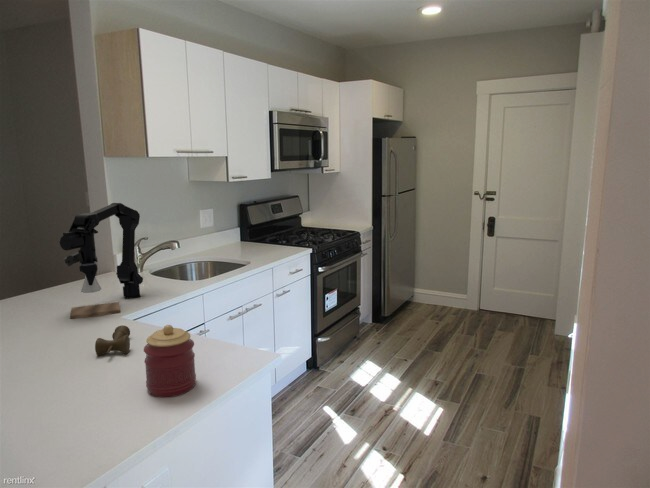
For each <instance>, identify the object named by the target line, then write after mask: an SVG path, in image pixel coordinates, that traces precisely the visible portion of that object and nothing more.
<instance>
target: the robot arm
mask: <svg viewBox="0 0 650 488" xmlns="http://www.w3.org/2000/svg"><path fill="white" fill-rule="evenodd" d="M112 216H115V217H116V218H118V222H119V223H118V224H119V225H120V227H121V228H122V244H121V245H122V249H121V251H122V252H121V253H122V255H121V262H120V264H119V265H116V273H115V275H116V277H117V279H118V280H119V283H120V285H121V284H122V285H123V286H122V295H123V297H124V299H132V298H140V297H141V292H140V285H141V284H143V281H144V278H143V276H142V275H140V274H139V270H138V269H139V268H138V266H137V264H136V263H135V238H136V229H137V228H138V226H139V224H140V220H141V219H140V217H141V216H140V213H139V212H138V210H136V209H133V208H132V207H129V206H126V205H125V204H123V203H121V202H112V203H110V204H109V205H107V206H104V207H102V208H99V209H96V210H95V211H92V212H86V213H85V212H84V213H80V214H79V213H78V214H77V215H75V216H74V219H73V221H72V223H71V225H70V227H69V230H68V232H63V233H62V234H63V235H62V236H61V237H60V239H59V245H60V247H61V249H62V250H64V251H70V250H71V251H72V250H75V249H78V251H77V252H75V253H72V254H69V255H67V256H66V257H64V258H63V261H64V262H65V264H66V266H67V267H70V266H73V265H74V264H76V263H79V267H78V268H79V272H80V273H81V272H82V273H83V274H84V276H85V275H86V278H87V281H88V283H89V285H92V284H93V281H94V278H96V274H97V272H98V256H97V254H96V253H97V252H96V241H95V234H99V231H98V230H96V229H95V228H96V227H98V225H99V224H100V222H101V221H102V222H103V221H104V220H106V219H108V218H110V217H112Z"/></svg>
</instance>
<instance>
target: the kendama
mask: <svg viewBox="0 0 650 488" xmlns="http://www.w3.org/2000/svg"><path fill="white" fill-rule="evenodd" d="M111 335H112V337H111V338H112V340H108V339H104V338H101V337H98V338H97V339H96V340H95V342H94V343H95V344H94V350H95V354H96V355H97V356H99V357H100V356H102V355H104V354H109V353H110V352H113V351H114V352H115V351H118V352H120V353H123V354H125V355H127V354H128V353H129V352H130V348H131V347H130V346H131V343H130V341H131V340H130V335H131V329H130V328H129V326H127V325H118V326H117V327H116V328H115V329H114V331H113V333H112V334H111Z"/></svg>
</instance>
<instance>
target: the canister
mask: <svg viewBox="0 0 650 488" xmlns="http://www.w3.org/2000/svg"><path fill="white" fill-rule="evenodd" d="M194 346H195V342H194V340H193V339H192V338H191V333H190V332H188V331H187V330H185V329H182V328H177V327H173V325H172V324H166V325H164V326H163V328H162V329H158V330H156V331H154V332H153V333H152V334H151V335H150V336H147V338H146V344H145V346H144V347H143V352H144V353H145V357H144V358H145V359H144V366H145V376H146V381H145V384H146V390H147V391H148V393H149V394H150V395H152V396H154V397H159V398H171V397H175V396H181V395H184V394H186V393H187V392H190V391H191V390H192V389H193V388H194V387H195V386H196V380H197V378H196V377H197V373H196V366H195V364H196V362H195V355H196V353H195V352H194V351H193V348H194Z"/></svg>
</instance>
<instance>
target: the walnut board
mask: <svg viewBox="0 0 650 488" xmlns="http://www.w3.org/2000/svg"><path fill="white" fill-rule="evenodd" d="M120 313H121V305H120V301H115V302H108V303H100V304H98V303H97V304H91V305H83V306H74V307H70V314H69V319H70V320H74V319H81V318H82V319H83V318H89V317H97V316H104V315H112V314H120Z"/></svg>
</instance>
